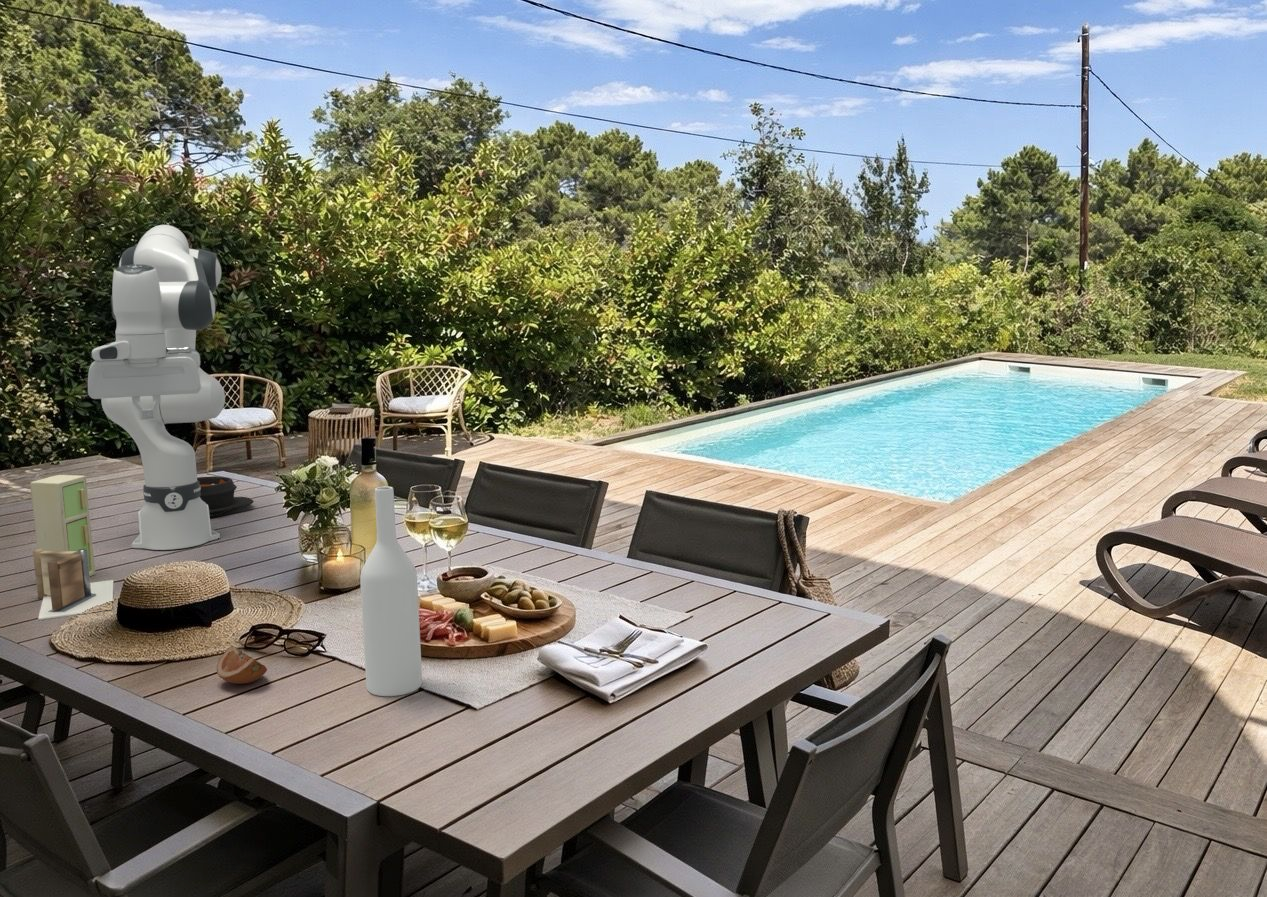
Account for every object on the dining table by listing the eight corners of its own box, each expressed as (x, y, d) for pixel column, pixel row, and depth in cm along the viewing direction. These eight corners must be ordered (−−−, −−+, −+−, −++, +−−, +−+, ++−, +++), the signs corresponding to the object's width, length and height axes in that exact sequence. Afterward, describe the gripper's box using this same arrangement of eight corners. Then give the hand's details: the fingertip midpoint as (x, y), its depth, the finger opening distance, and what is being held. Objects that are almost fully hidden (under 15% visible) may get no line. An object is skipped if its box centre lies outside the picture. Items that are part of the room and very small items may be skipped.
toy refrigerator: (71, 585, 209) (60, 482, 205) (39, 584, 210) (28, 481, 207) (99, 574, 216) (89, 475, 213) (68, 573, 218) (58, 474, 214)
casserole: (244, 500, 288) (242, 471, 287) (262, 513, 273) (259, 481, 271) (146, 512, 275) (143, 481, 273) (158, 526, 259) (155, 493, 258)
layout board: (45, 589, 206) (45, 587, 206) (113, 581, 211) (113, 579, 211) (38, 620, 187) (38, 618, 187) (112, 610, 193) (112, 608, 193)
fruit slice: (276, 684, 156) (274, 653, 155) (232, 697, 152) (229, 664, 151) (253, 670, 162) (251, 639, 161) (210, 681, 158) (207, 650, 157)
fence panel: (77, 596, 199) (72, 551, 198) (86, 596, 199) (81, 551, 197) (49, 609, 191) (44, 563, 190) (59, 609, 191) (54, 563, 189)
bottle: (371, 700, 149) (359, 495, 145) (362, 681, 157) (350, 485, 152) (427, 691, 153) (417, 490, 148) (416, 672, 160) (406, 480, 155)
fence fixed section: (93, 596, 201) (88, 548, 200) (88, 599, 200) (83, 551, 198) (41, 595, 202) (36, 548, 201) (35, 598, 200) (30, 550, 199)
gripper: (198, 345, 211) (203, 413, 214) (84, 349, 202) (91, 420, 205) (200, 347, 206) (205, 417, 208) (83, 351, 197) (90, 424, 199)
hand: (148, 418), depth 206 cm, fingers closed
